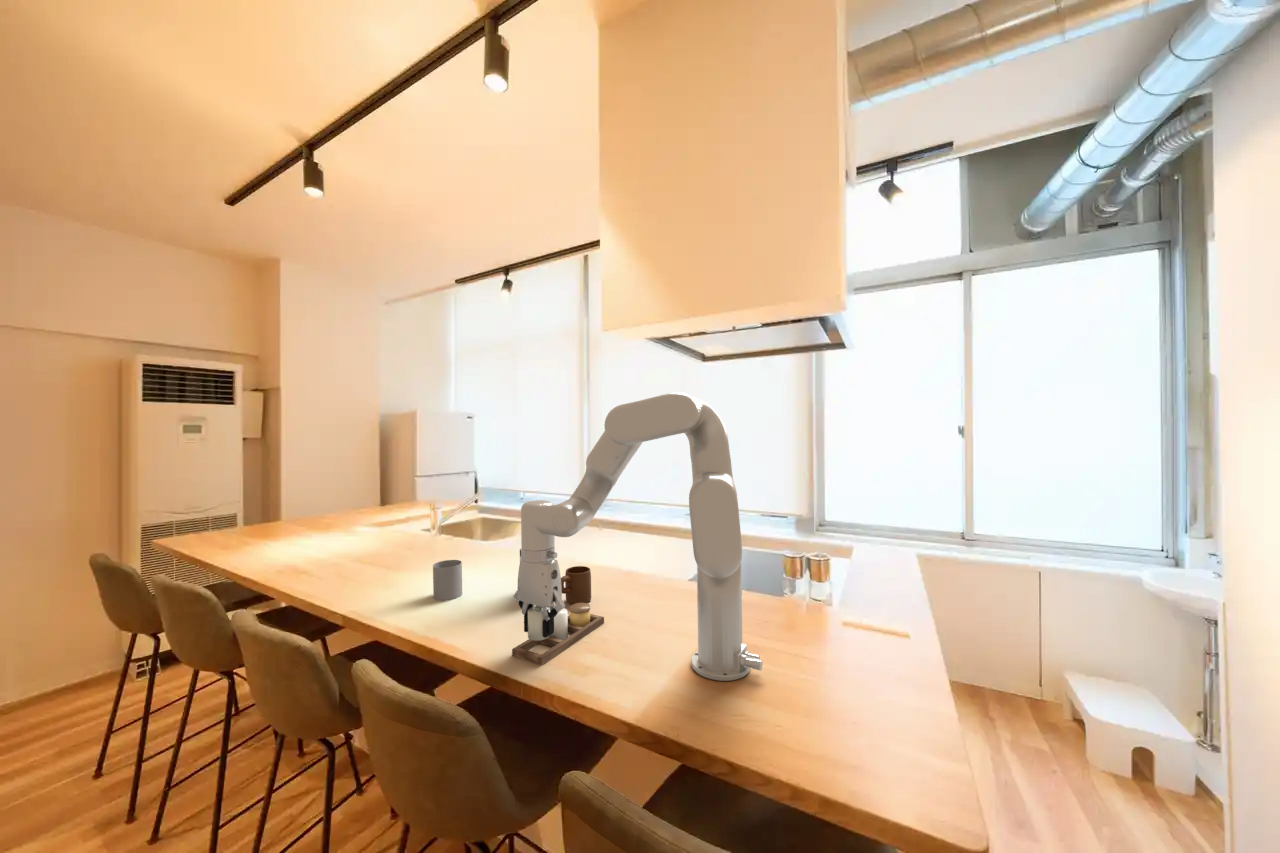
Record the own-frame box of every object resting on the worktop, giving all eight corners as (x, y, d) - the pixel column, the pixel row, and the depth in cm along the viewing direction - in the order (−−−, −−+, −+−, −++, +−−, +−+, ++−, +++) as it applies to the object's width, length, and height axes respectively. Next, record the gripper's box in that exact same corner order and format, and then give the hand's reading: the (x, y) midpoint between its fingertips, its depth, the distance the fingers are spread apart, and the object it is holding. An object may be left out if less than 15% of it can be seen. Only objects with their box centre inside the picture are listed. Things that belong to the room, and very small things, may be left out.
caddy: (604, 622, 123) (604, 616, 123) (541, 665, 102) (541, 658, 102) (577, 616, 128) (577, 610, 128) (512, 655, 107) (512, 649, 107)
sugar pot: (554, 633, 109) (554, 604, 109) (539, 642, 105) (539, 612, 105) (538, 629, 112) (537, 600, 112) (523, 637, 107) (523, 608, 107)
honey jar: (594, 624, 123) (594, 604, 123) (582, 632, 118) (582, 612, 118) (578, 620, 125) (578, 601, 125) (565, 628, 121) (565, 608, 121)
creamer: (571, 636, 116) (571, 610, 116) (559, 643, 112) (559, 616, 112) (554, 631, 119) (553, 605, 119) (542, 638, 115) (541, 612, 115)
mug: (569, 613, 130) (568, 580, 130) (549, 608, 134) (549, 575, 134) (596, 599, 140) (596, 568, 140) (577, 594, 144) (576, 564, 144)
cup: (455, 600, 141) (454, 567, 141) (428, 601, 141) (427, 568, 141) (466, 590, 149) (465, 559, 149) (440, 591, 149) (440, 559, 149)
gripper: (577, 555, 107) (578, 634, 107) (522, 546, 115) (523, 619, 116) (556, 564, 101) (557, 648, 101) (499, 553, 109) (500, 630, 109)
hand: (539, 631), depth 108 cm, fingers closed on sugar pot, 5 cm apart
